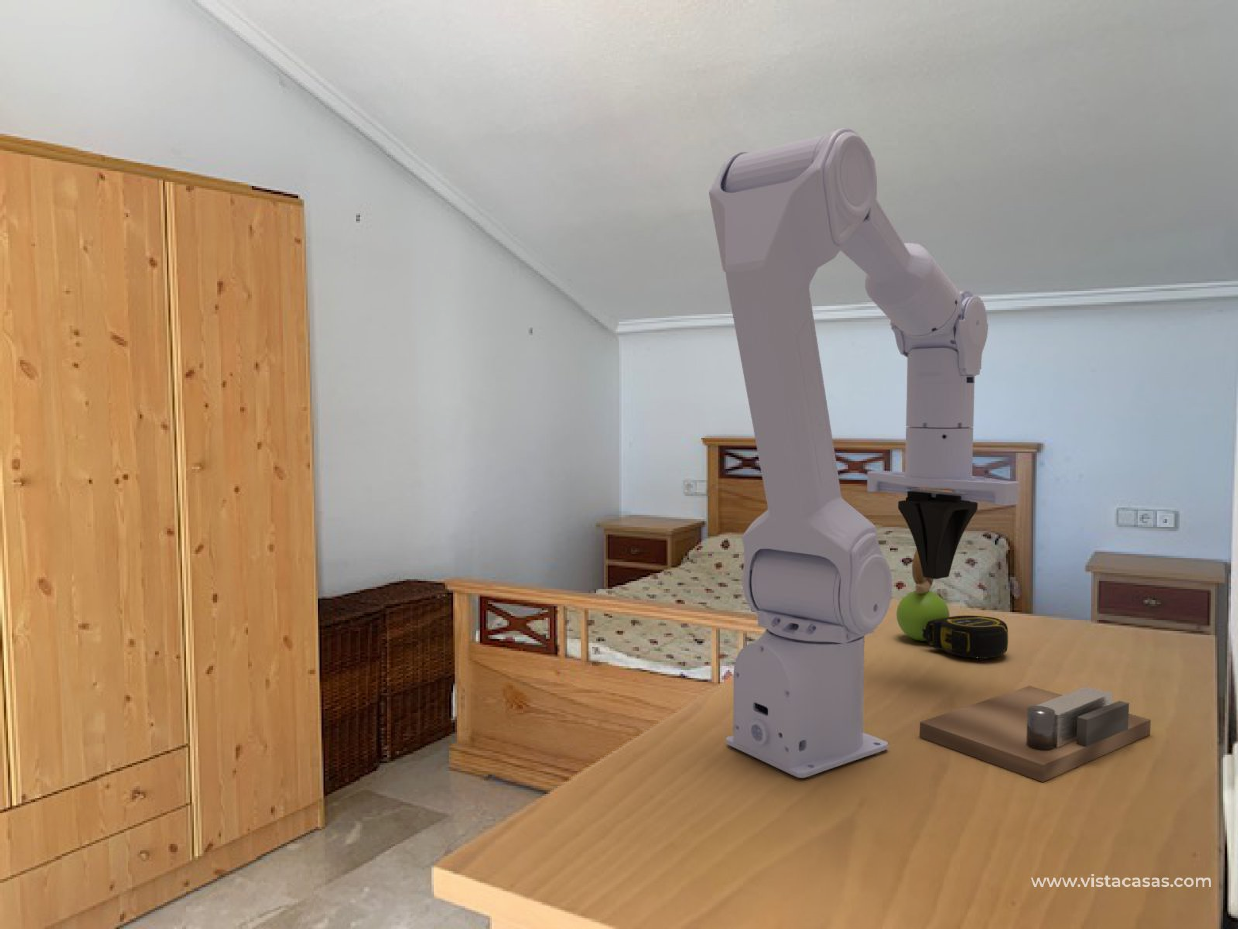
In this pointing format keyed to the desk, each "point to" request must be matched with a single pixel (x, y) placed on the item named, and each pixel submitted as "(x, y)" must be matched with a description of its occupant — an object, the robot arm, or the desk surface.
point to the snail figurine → (920, 605)
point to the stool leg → (1062, 717)
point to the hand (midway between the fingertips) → (936, 577)
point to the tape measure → (968, 635)
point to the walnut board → (1003, 729)
